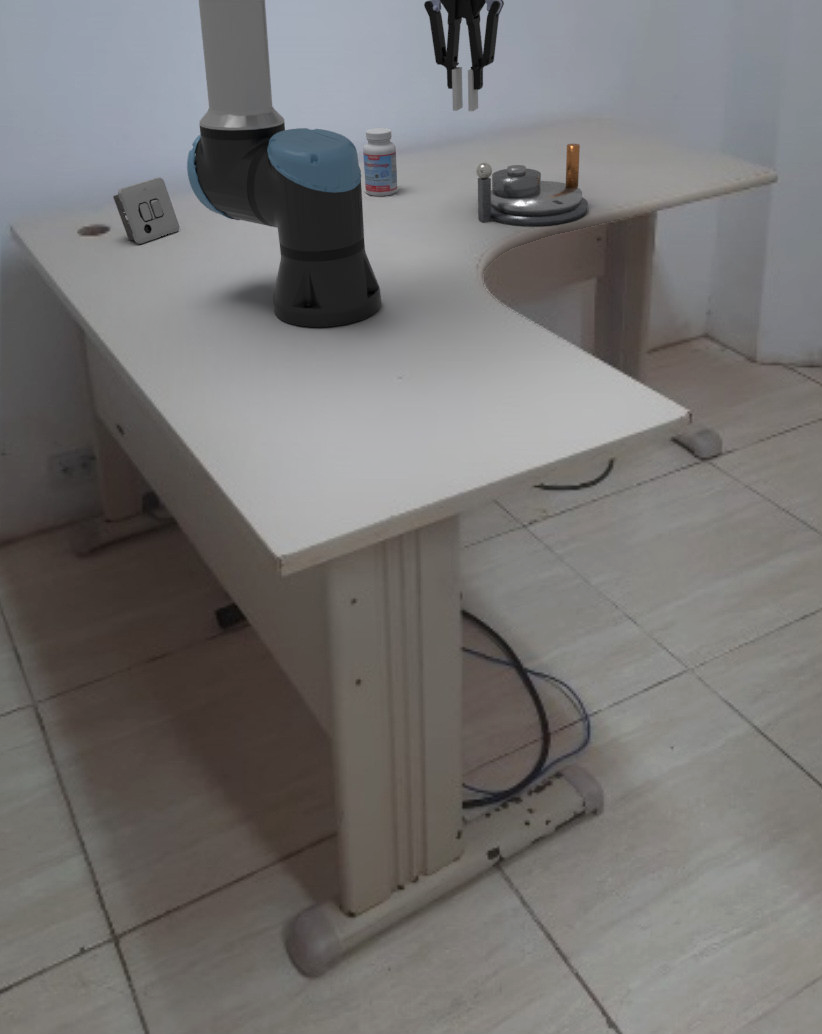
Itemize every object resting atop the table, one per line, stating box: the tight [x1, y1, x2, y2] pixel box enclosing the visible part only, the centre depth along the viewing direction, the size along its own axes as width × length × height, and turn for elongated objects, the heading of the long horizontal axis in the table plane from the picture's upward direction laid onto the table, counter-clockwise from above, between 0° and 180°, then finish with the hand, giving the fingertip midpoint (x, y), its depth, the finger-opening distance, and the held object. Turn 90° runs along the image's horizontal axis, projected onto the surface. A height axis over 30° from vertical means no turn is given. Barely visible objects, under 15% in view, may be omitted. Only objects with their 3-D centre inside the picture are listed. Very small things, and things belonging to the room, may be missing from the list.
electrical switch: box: [113, 177, 180, 245], centre depth 181 cm, size 9×5×9 cm, turn 141°
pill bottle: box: [362, 127, 398, 197], centre depth 197 cm, size 6×6×11 cm
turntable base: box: [491, 196, 589, 227], centre depth 185 cm, size 18×18×1 cm
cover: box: [491, 164, 542, 199], centre depth 184 cm, size 8×8×4 cm
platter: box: [491, 143, 583, 215], centre depth 182 cm, size 16×17×8 cm
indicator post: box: [476, 162, 493, 223], centre depth 179 cm, size 3×3×10 cm
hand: (465, 109), depth 181 cm, fingers open, 2 cm apart
